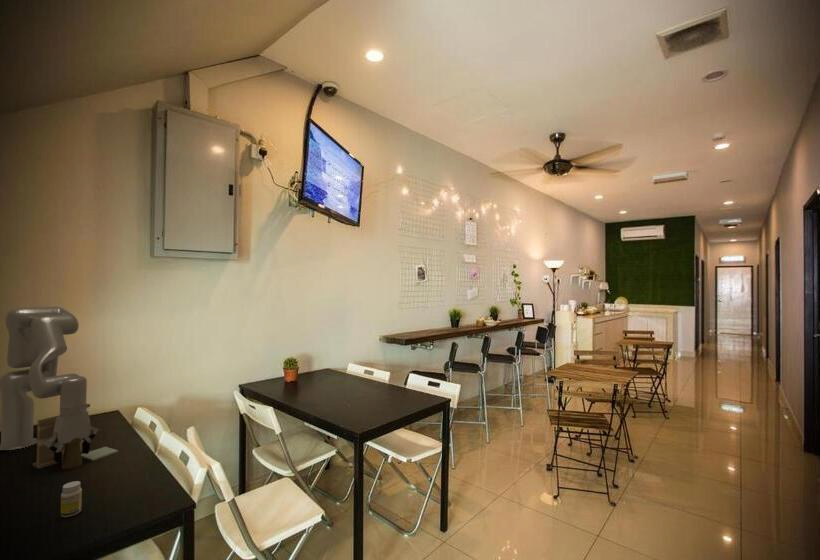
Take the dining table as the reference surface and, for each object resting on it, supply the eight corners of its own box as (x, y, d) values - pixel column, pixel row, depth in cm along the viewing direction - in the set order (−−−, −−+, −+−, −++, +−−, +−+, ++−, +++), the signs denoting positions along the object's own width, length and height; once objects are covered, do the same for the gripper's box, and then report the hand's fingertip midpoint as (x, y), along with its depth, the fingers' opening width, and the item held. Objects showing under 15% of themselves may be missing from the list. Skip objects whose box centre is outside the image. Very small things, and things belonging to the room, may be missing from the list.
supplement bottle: (69, 508, 117) (69, 480, 118) (85, 508, 118) (86, 479, 118) (56, 518, 113) (56, 488, 113) (73, 517, 113) (74, 488, 113)
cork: (69, 469, 143) (70, 439, 143) (56, 468, 144) (57, 438, 144) (86, 462, 148) (87, 433, 149) (73, 461, 150) (74, 432, 150)
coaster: (79, 456, 154) (79, 455, 154) (105, 448, 162) (105, 446, 162) (92, 460, 150) (92, 459, 150) (118, 451, 158) (118, 450, 158)
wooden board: (32, 466, 145) (33, 420, 146) (80, 451, 159) (81, 409, 159) (39, 468, 143) (40, 422, 144) (87, 453, 157) (88, 410, 157)
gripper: (94, 403, 156) (93, 447, 156) (38, 415, 140) (37, 465, 140) (105, 405, 153) (104, 450, 153) (49, 418, 137) (48, 469, 137)
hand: (72, 457), depth 146 cm, fingers open, 7 cm apart
